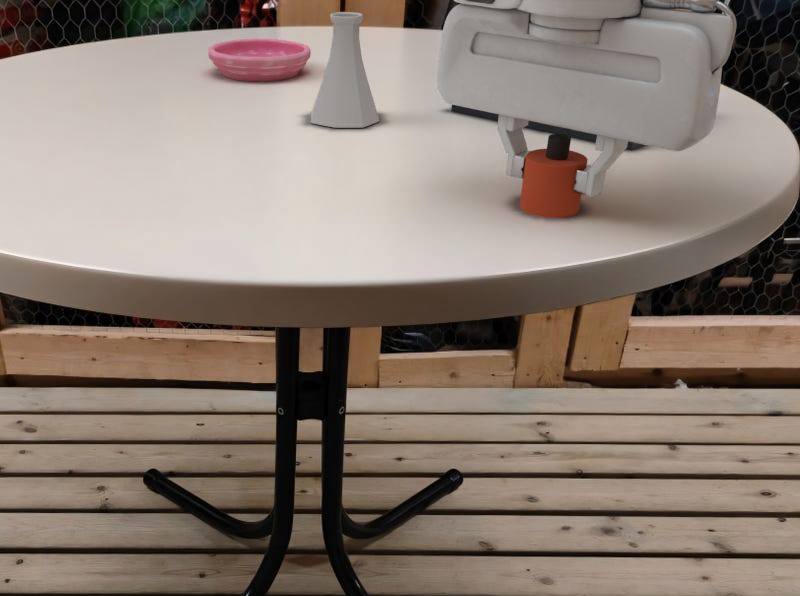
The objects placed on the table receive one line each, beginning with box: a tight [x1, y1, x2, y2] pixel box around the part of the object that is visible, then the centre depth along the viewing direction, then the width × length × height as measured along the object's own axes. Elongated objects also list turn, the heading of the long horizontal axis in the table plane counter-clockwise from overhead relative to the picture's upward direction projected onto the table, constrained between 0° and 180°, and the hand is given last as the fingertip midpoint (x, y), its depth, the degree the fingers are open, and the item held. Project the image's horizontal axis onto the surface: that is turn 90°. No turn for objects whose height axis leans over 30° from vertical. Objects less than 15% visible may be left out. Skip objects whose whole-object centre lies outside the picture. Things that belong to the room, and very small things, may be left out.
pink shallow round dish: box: [207, 38, 311, 82], centre depth 102 cm, size 12×12×3 cm
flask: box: [310, 11, 380, 129], centre depth 82 cm, size 7×7×10 cm
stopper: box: [519, 133, 588, 219], centre depth 62 cm, size 4×4×6 cm
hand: (552, 184), depth 62 cm, fingers closed on stopper, 4 cm apart
